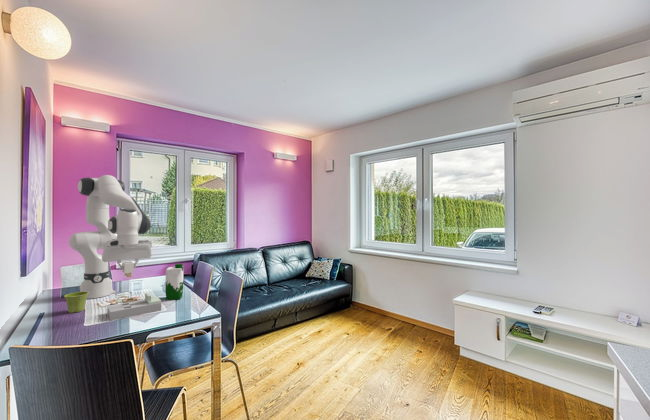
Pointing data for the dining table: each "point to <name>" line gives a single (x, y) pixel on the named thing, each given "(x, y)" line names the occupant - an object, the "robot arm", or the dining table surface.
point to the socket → (131, 309)
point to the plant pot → (76, 301)
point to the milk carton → (174, 282)
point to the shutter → (151, 299)
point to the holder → (129, 300)
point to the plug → (128, 268)
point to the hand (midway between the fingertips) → (127, 268)
